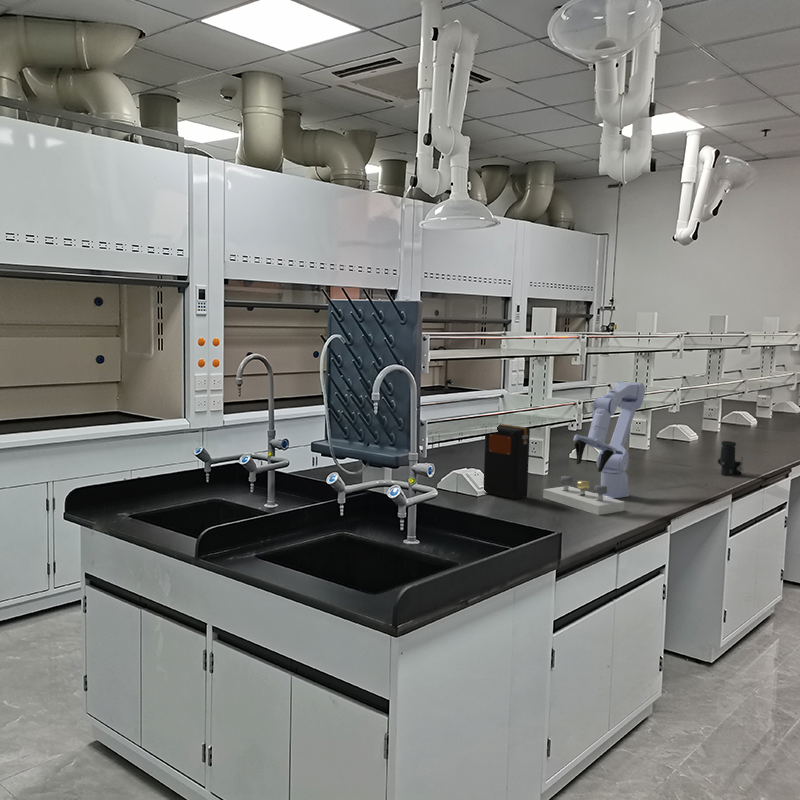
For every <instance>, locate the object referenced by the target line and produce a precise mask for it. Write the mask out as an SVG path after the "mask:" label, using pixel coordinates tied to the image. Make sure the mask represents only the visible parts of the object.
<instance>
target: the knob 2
mask: <svg viewBox="0 0 800 800" xmlns="http://www.w3.org/2000/svg"><path fill="white" fill-rule="evenodd" d="M593 493H598V501H600V502H602V501H603V494H606V493H607V487H606V486H602V485H601V484H600V485H598V484H597V485H594V492H593Z"/></svg>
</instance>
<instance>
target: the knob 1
mask: <svg viewBox="0 0 800 800" xmlns="http://www.w3.org/2000/svg"><path fill="white" fill-rule="evenodd" d="M560 483H561V484H563V487H564V491H568V488H569V486H570V485H572V484H573V477H572V476H568V475H563V476H562V475H561V476H560Z"/></svg>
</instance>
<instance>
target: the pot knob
mask: <svg viewBox="0 0 800 800" xmlns="http://www.w3.org/2000/svg"><path fill="white" fill-rule="evenodd" d="M576 488H578V489H581V490H580V496H585V491H586V490H588V489H589V490H590V481H588V480H577V482H576Z"/></svg>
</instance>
